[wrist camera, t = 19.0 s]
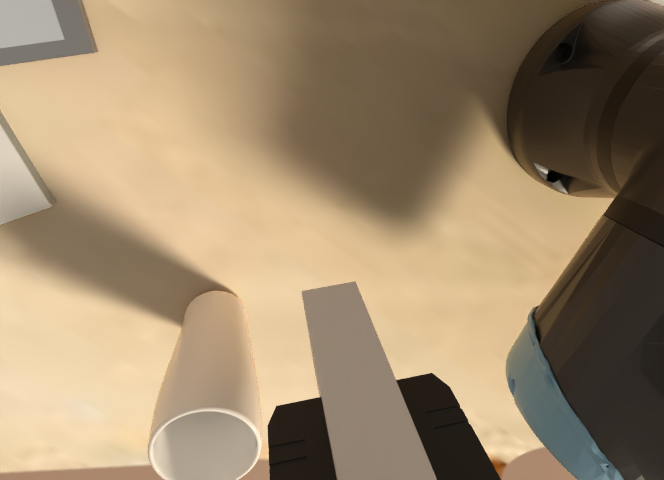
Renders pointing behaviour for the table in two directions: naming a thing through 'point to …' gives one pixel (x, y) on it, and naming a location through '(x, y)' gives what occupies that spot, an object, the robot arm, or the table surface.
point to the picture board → (43, 30)
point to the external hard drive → (19, 180)
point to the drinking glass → (209, 396)
